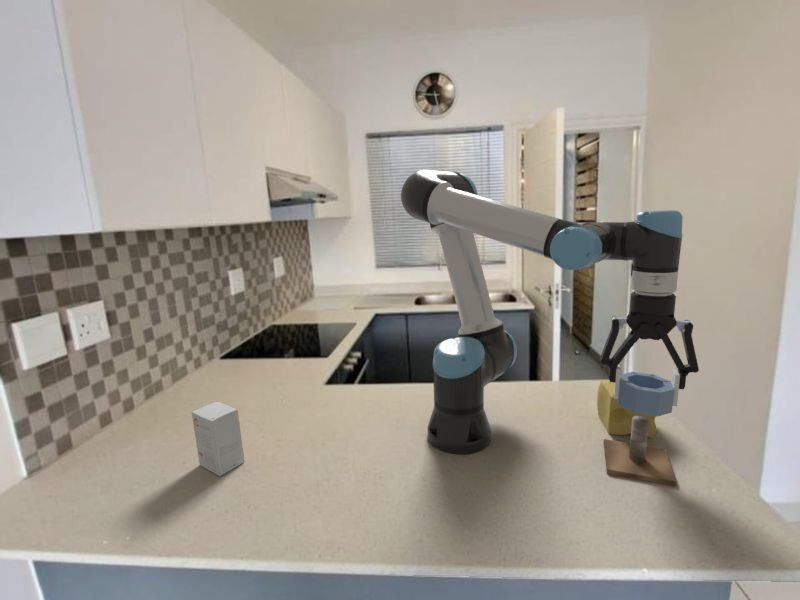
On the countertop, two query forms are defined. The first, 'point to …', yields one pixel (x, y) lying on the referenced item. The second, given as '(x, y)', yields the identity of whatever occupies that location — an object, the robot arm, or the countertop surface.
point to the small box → (218, 437)
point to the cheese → (617, 412)
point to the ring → (646, 394)
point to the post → (638, 457)
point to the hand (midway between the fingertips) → (643, 399)
